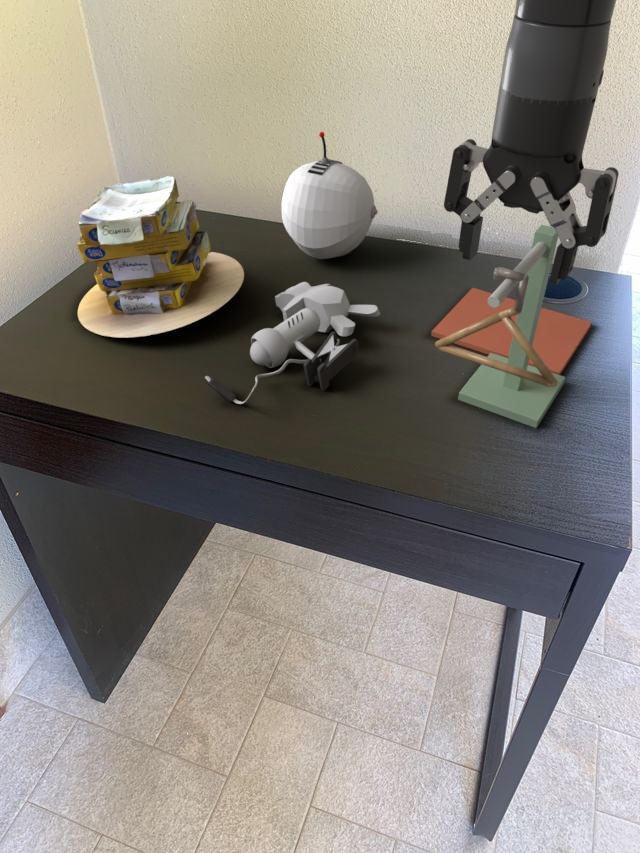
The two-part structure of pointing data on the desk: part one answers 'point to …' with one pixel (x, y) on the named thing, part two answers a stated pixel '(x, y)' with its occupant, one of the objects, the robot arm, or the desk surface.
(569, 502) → the desk surface
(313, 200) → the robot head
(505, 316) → the hanger
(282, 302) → the bunny figurine
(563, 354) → the mat
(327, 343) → the clip-on lamp
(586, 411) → the desk surface
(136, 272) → the stacked boxes on plate
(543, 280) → the hook stand
